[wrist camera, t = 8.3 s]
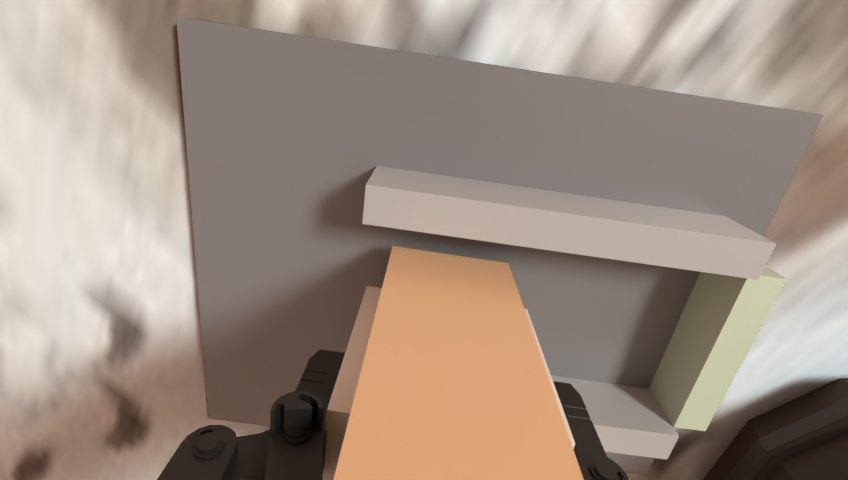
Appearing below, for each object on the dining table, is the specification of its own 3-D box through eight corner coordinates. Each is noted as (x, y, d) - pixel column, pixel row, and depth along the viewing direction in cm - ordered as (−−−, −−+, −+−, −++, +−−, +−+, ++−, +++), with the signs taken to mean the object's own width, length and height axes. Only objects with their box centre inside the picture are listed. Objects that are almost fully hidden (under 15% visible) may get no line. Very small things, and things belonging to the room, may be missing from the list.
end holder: (185, 18, 16) (120, 6, 13) (810, 113, 17) (901, 125, 14) (213, 409, 24) (177, 465, 21) (642, 465, 25) (673, 528, 21)
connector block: (392, 245, 18) (318, 540, 7) (508, 263, 18) (618, 578, 7) (379, 342, 20) (306, 692, 9) (484, 357, 20) (542, 720, 9)
